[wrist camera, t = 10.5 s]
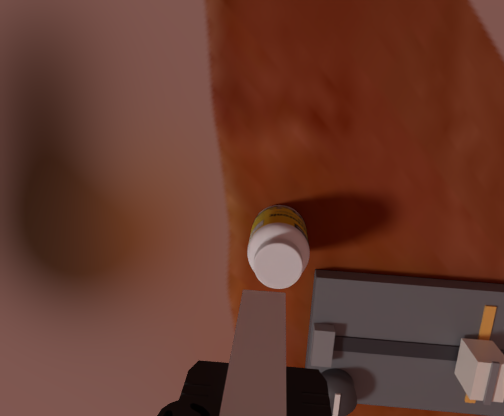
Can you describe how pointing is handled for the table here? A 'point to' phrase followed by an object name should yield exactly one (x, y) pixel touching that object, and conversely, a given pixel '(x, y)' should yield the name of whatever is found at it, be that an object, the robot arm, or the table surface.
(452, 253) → the table surface
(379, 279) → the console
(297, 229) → the supplement bottle
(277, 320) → the robot arm
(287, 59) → the table surface
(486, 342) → the fader knob
